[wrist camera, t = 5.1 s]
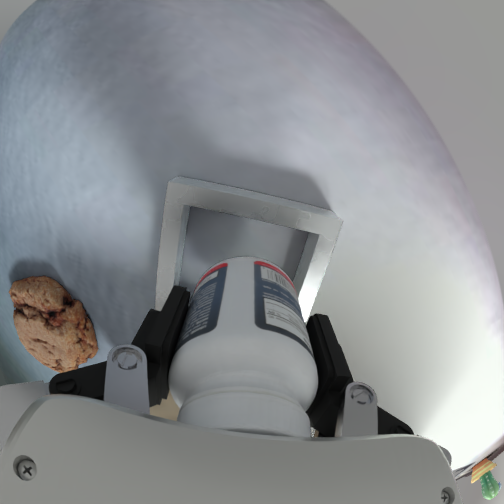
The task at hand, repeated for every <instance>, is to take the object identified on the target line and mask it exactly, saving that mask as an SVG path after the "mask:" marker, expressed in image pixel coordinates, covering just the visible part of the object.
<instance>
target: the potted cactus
mask: <svg viewBox="0 0 504 504" xmlns="http://www.w3.org/2000/svg"><path fill="white" fill-rule="evenodd" d="M496 465H497V464H494V463H493V462H492V461H489V460H487V458H486V459H484V460H483V461H481V462H480V463H478V464H477V465H476V466H474V467H473V468H472V469H473V472H472V480H471V483H473V482H474V481H476V480H478V479H479V478H480V481H481V485H482V494H483V497H484V498H486V499H489V500H491V499H492V498H493V497H495V496H496V495H497V494H498V492H499V490H500V489H501V484H500V482H499V483H497V481H496V480H494V478H493V476H492V474H491V472H490V470H492V469H493V468H494V467H495V466H496Z"/></svg>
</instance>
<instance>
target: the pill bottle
mask: <svg viewBox="0 0 504 504" xmlns="http://www.w3.org/2000/svg"><path fill="white" fill-rule="evenodd" d="M168 383H169V389H170V392H171V395H172V397H173V399H174V401H175V403H176V404H177V405H178V407H179V408H180V410H179V414H178V417H177V421H178V422H182V423H187V424H192V425H197V426H202V427H208V428H213V429H220V430H226V431H233V432H241V433H249V434H259V435H270V436H286V437H311V430H310V420H309V417H308V415H307V414H306V413H305V412H306V411H307V409H308V408H309V407H310V405H311V404H312V402H313V400H314V398H315V396H316V393H317V389H318V373H317V368H316V362H315V359H314V355H313V352H312V348H311V344H310V340H309V337H308V333H307V329H306V325H305V322H304V318H303V315H302V311H301V307H300V303H299V300H298V296H297V293H296V290H295V287H294V285H293V283H292V281H291V279H290V278H289V277H288V275H287V274H286V273H285V272H284V271H283V270H282V269H281V268H279V267H278V266H277V265H275V264H273V263H271V262H269V261H267V260H264V259H261V258H256V257H247V256H244V257H234V258H230V259H226V260H223V261H221V262H219V263H217V264H215V265H214V266H212V267H211V268H209V269H208V270H207V271H206V272H205V273H204V274H203V276H202V277H201V278H200V280H199V282H198V284H197V286H196V288H195V291H194V294H193V297H192V300H191V303H190V305H189V308H188V311H187V314H186V317H185V320H184V323H183V326H182V329H181V332H180V335H179V338H178V341H177V345H176V348H175V351H174V354H173V357H172V361H171V365H170V369H169V375H168Z"/></svg>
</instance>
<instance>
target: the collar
mask: <svg viewBox="0 0 504 504" xmlns="http://www.w3.org/2000/svg"><path fill="white" fill-rule="evenodd" d="M190 206H193V207H198V208H203V209H208V210H213V211H218V212H223V213H227V214H232V215H237V216H241V217H246V218H251V219H255V220H260V221H264V222H269V223H273V224H277V225H282V226H286V227H290V228H295V229H299V230H303V231H307V232H309V234H308V237H307V240H306V243H305V246H304V250H303V253H302V256H301V259H300V262H299V265H298V268H297V271H296V274H295V277H294V280H293V285H294V287H295V290H296V293H297V296H298V300H299V303H300V307H301V311H302V315H303V318H304V322H306V320H307V318H308V315H309V313H310V310H311V308H312V305H313V303H314V300H315V298H316V295H317V293H318V290H319V288H320V285H321V282H322V280H323V277H324V274H325V272H326V269H327V266H328V264H329V261H330V258H331V255H332V253H333V250H334V247H335V244H336V241H337V238H338V235H339V232H340V229H341V226H342V223H343V220H342V219H341V218H339V217H338V216H337V215H336V214H335V213H334V212H333V211H330V210H327V209H323V208H319V207H316V206H312V205H308V204H304V203H300V202H296V201H292V200H288V199H284V198H280V197H276V196H272V195H267V194H263V193H259V192H254V191H250V190H245V189H241V188H236V187H231V186H227V185H222V184H217V183H212V182H207V181H202V180H196V179H191V178H186V177H180V176H177V177H175V178H173V179H172V180H170V181H168V185H167V191H166V198H165V205H164V212H163V220H162V228H161V237H160V246H159V257H158V268H157V281H156V297H155V310H157V311H161V310H162V308H163V306H164V304H165V302H166V300H167V298H168V296H169V294H170V292H171V290H172V288H173V286H174V285H176V286H179V280H180V272H181V264H182V257H183V249H184V242H185V236H186V229H187V223H188V217H189V210H190ZM189 305H190V303H189ZM188 308H189V307H188Z"/></svg>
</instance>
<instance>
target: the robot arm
mask: <svg viewBox="0 0 504 504" xmlns="http://www.w3.org/2000/svg"><path fill="white" fill-rule="evenodd" d="M189 299H190V292H188V291H186V288H185V287H181V286H176V285H174V286H173V288H172V290H171V292H170V294H169V296H168V298H167V300H166V302H165V304H164V306H163V308H162V310H161V311H157V310H154V309H150V311H149V312H148V314H147V316H146V318H145V319H144V321H143V323H142V325H141V327H140V329H139V330H138V332H137V334H136V336H135V338H134V340H133V342H132V344H131V345H129V344H122V345H118V346H116V347H114V348H112V349H111V350H110V352H109V354H108V357H107V361H105V362H101V363H98V364H94V365H90V366H86V367H82V368H79V369H75V370H71V371H67V372H62V373H59V374H57V375H55V376H54V377H53V378H52V379H51V381H50V382H48V383H44V381H43V380H42V381H35V382H28V383H20V384H11V385H4V386H1V387H0V447H1V454H0V504H464V503H463V500H462V497H461V494H460V491H459V488H458V485H457V482H456V479H455V477H454V474H453V472H452V469H451V467H450V466H451V455H450V453H449V452H448V450H446V449H445V448H443V447H441V446H439V445H437V444H436V443H435V442H434V441H432V440H430V439H428V438H425V437H421V436H419V435H414V433H413V431H412V429H411V428H410V427H409V426H408V425H407V424H405V423H404V422H402V421H400V420H399V419H397V418H396V417H394V416H392V415H391V414H389V413H388V412H386V411H384V410H383V409H381V408H380V407H378V406H377V396H376V393H375V392H374V390H373V389H372V388H371V387H370V386H368V385H367V384H364V383H361V382H354V381H353V378H352V375H351V373H350V370H349V367H348V365H347V362H346V359H345V356H344V354H343V351H342V348H341V346H340V345H339V344H338V341H337V339H336V336H335V333H334V331H333V328H332V326H331V323H330V320H329V318H328V316H327V315H322V314H314V316H310V318H309V320H308V322H307V325H306V329H307V333H308V337H309V340H310V344H311V348H312V352H313V355H314V359H315V362H316V368H317V373H318V389H317V393H316V396H315V398H314V400H313V402H312V404H311V405H310V407H309V408H308V409H307V411H306V412H305V413H306V414H307V415H308V417H309V420H310V427H313V428H314V429H316V431H315V434H314V437H286V436H270V435H259V434H249V433H241V432H233V431H226V430H220V429H213V428H208V427H202V426H197V425H192V424H187V423H182V422H178V421H174V420H169V419H165V418H161V417H157V416H154V415H150V407H153V406H155V405H160V404H161V401H162V399H167V397H168V394H169V390H170V389H169V383H168V375H169V369H170V365H171V361H172V357H173V354H174V351H175V348H176V345H177V341H178V338H179V335H180V332H181V329H182V326H183V323H184V320H185V317H186V314H187V311H188V307H189Z"/></svg>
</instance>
